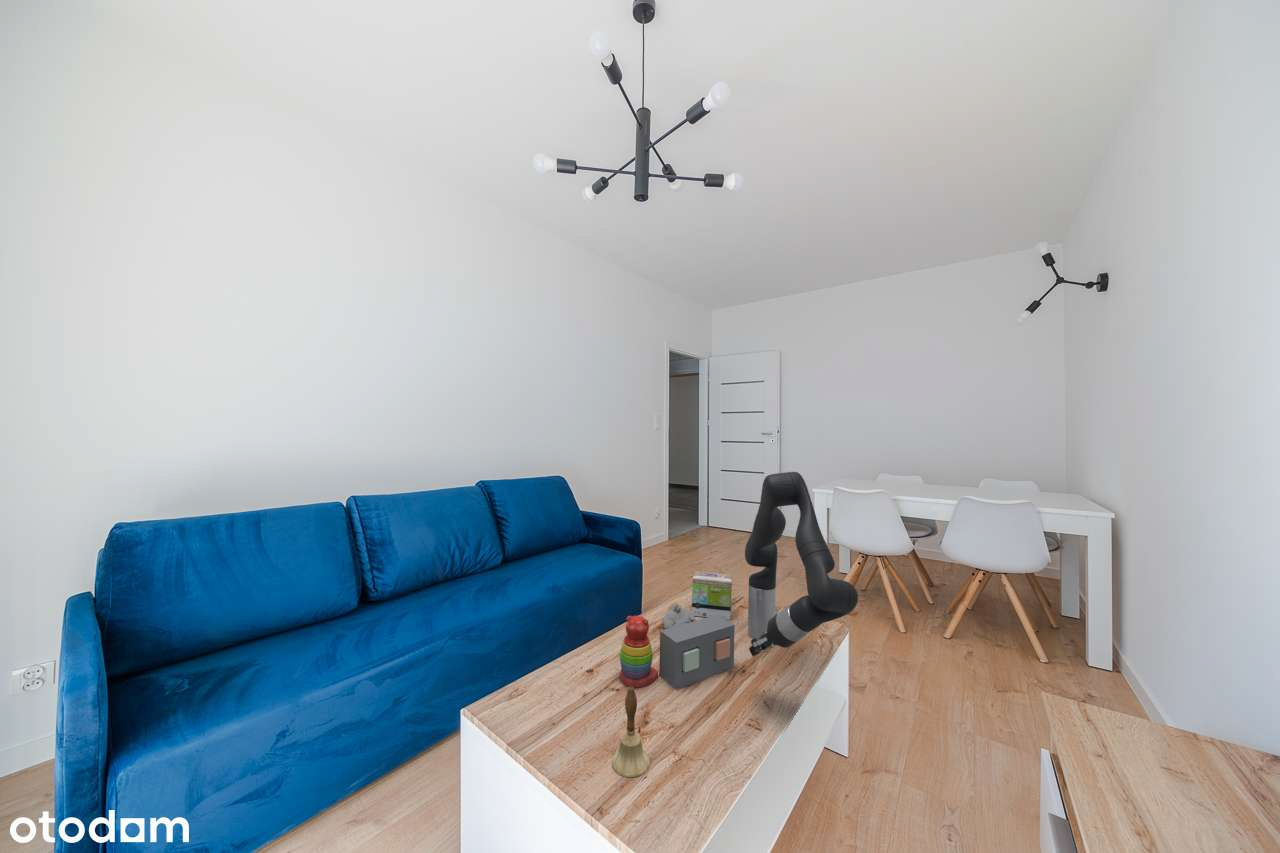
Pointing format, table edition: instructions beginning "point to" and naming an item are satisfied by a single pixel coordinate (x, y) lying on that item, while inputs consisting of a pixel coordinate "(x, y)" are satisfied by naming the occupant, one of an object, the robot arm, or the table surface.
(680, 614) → the grey clay mound
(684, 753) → the table surface
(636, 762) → the hand bell
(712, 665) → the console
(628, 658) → the stacking bear
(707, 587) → the tea box
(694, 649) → the sage button
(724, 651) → the salmon button
